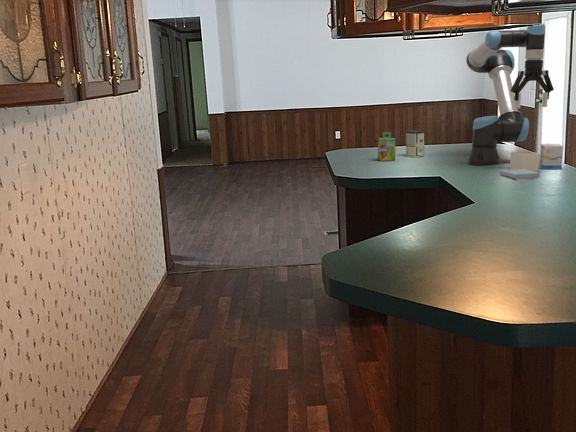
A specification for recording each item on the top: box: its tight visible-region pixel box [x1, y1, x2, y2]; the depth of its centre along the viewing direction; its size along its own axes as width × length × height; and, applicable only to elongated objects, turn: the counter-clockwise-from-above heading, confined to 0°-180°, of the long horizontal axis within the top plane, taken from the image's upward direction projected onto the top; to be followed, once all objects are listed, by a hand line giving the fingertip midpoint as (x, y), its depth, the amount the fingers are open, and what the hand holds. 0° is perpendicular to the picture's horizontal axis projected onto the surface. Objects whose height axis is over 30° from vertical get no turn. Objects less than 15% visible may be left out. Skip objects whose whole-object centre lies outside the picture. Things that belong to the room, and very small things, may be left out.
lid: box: [498, 169, 541, 181], centre depth 273 cm, size 12×12×3 cm
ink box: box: [539, 143, 564, 171], centre depth 291 cm, size 9×8×12 cm
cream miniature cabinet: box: [405, 129, 426, 158], centre depth 346 cm, size 10×10×14 cm
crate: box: [509, 150, 540, 173], centre depth 285 cm, size 10×8×9 cm
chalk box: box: [377, 131, 397, 162], centre depth 333 cm, size 9×9×15 cm
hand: (531, 107), depth 287 cm, fingers open, 13 cm apart
